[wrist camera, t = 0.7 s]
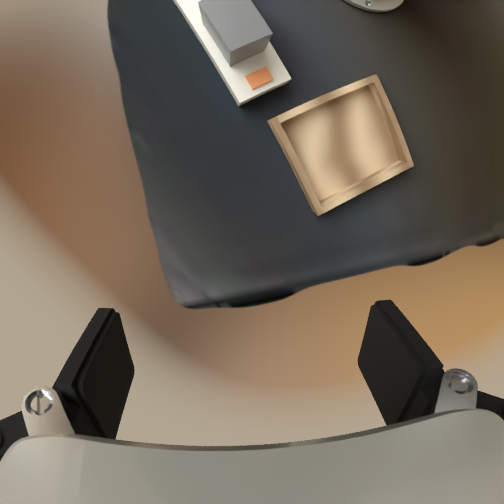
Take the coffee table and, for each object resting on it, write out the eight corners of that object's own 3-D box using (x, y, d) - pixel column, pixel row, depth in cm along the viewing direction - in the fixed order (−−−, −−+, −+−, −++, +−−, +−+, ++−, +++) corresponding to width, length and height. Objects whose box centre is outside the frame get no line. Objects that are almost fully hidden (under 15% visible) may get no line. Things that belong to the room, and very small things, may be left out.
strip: (205, -37, 24) (204, -52, 20) (285, 84, 31) (292, 78, 27) (161, -17, 24) (155, -31, 21) (238, 106, 32) (239, 102, 28)
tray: (367, 77, 31) (376, 74, 28) (403, 163, 35) (413, 165, 33) (266, 121, 32) (269, 119, 30) (312, 210, 37) (318, 215, 34)
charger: (236, 16, 27) (239, -16, 19) (262, 56, 29) (272, 33, 21) (204, 31, 27) (197, 1, 19) (229, 71, 29) (230, 51, 21)
